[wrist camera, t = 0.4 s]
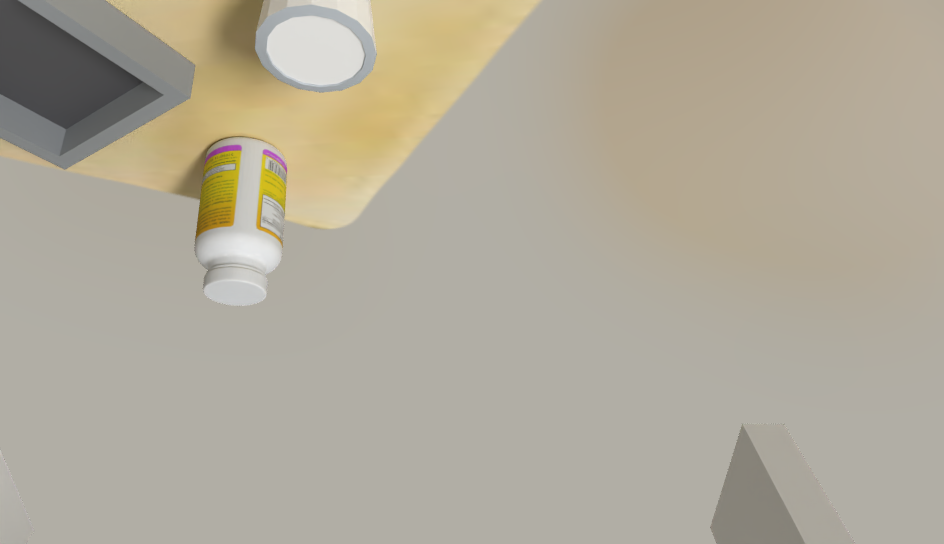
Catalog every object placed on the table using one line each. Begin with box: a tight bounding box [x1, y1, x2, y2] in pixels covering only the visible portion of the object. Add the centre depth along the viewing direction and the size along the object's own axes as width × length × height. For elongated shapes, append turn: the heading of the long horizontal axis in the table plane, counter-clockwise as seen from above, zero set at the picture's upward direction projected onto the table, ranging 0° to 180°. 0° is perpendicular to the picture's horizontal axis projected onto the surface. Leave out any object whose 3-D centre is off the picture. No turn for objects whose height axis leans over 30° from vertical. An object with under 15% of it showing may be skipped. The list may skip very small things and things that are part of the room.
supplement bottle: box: [195, 137, 287, 306], centre depth 57 cm, size 7×7×13 cm
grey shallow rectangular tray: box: [0, 0, 195, 169], centre depth 48 cm, size 11×14×3 cm
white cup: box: [255, 0, 377, 92], centre depth 42 cm, size 7×7×7 cm
